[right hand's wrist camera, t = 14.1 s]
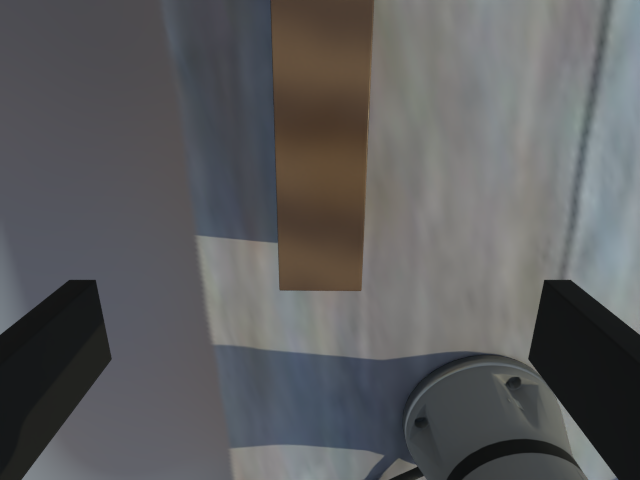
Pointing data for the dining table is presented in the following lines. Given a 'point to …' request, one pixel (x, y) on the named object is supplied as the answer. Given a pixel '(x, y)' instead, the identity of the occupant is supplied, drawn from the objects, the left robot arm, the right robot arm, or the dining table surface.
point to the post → (321, 139)
